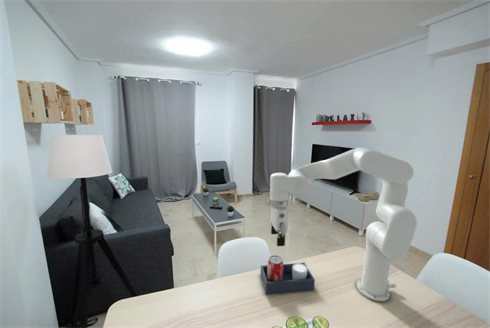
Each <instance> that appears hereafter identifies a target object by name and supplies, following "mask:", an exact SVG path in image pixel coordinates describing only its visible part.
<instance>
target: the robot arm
mask: <svg viewBox="0 0 490 328" xmlns="http://www.w3.org/2000/svg"><path fill="white" fill-rule="evenodd" d="M359 171H361V172H363V173H365V174H368V175H371V176H373V177H376V178H379V179H381V184H382V187H381V192H380V195H379V198H378V202H377V205H376V207H375V215H376V217H377V218H378V219H379V220H380V221H373V222H371V223H370V224H369V225H367V227H366V230H365V250H364V251H365V252H364V258H363V267H362V272H361V278H359V279H358V280H357V281H356V288H357V290H358V291H359V292H360V293H361V294H362V295H363V296H364V297H366V298H368V299H370V300H372V301H376V302H386V301H388V300H389V299H390V295H391V294H390V291H389V290H390V289H394V288H395V289H396V288H397V284H396V283H395V282H390V280H389V275H390V274H389V273H390V269H391V262H392V261H397V260H400V259H402V258H404V257H405V256H406V255H407V253H408V252H409V249H410V247H411V244H412V240H413V238H414V235H415V232H416V229H417V224H418V222H417V217H416V215H415V214H414V212H412V210H410V209H409V208H407V207H406V205H405V203H406V201H407V200H406V199H407V197H408V196H407V195H408V192H409V191H408V190H409V185H408V182H409V181H411V179H412V178H413V177H414V167H413V166H412V164H410V163H409V162H408V161H405V160H402V159H401V158H400V159H399V158H397V157H394V156H390V155H388V154H385V153H382V152H379V151H377V150H374V149H371V148H367V147H361V146H360V147H359V146H358V147H355V148H352V149H350V150H348V151H345V152H342V153H341V154H337V155H335V156H333V157H330V158H328V159H325V160H324V159H323V160H319V161H316V162H312V163H308V164H306V165H302V166H300V167H298V168H295V169H293V170H291V171H290V172H289V173H288V174H287V173H284V172H274V173H271V175H270V177H269V207H270V222H271V223H270V225H271V227H270V228H271V229H270V234H271V235H277V236H276V246H277V247H285V245H286V233H287V231H288V207H289V206H288V205H289V193H291V194H297V195H302V194H305V193H307V192H308V191H309V189H310V182H312V181H314V180H319V179H320V180H321V179H324V180H325V179H326V180H337V179H340V178H342V177H345V176H348V175H350V174H352V173H356V172H359Z"/></svg>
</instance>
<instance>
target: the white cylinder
mask: <svg viewBox="0 0 490 328" xmlns="http://www.w3.org/2000/svg"><path fill="white" fill-rule="evenodd" d="M300 263H301V262H296V264H294V265H293V266H292V271H293V280H299V279H306V276H307V271H308V269H309V268H308V266H307V265H306V264H305V265H306V266H307V267H306V266H305V265H303V264H300Z"/></svg>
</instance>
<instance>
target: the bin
mask: <svg viewBox="0 0 490 328" xmlns="http://www.w3.org/2000/svg"><path fill="white" fill-rule="evenodd" d="M296 263H297V262H296ZM296 263H295V262H294V263H283V280H282V281H273V282H267V266H268V264H266V265H265V264H264V265H260V280H261V283H262V287H263V290H264V294H265V295H266V296H267V295H278V294H279V295H280V294H289V293H301V292H302V293H303V292H312V291H313V292H314V291H315V278H314V276H313V275H312V272H311V271H310V270H309V268H308V266H307V264H306V263H305V262H299V263H300V264H303V265H305V266H306V267H307V268H308V271H307V276H306V279H299V280H293V271H292V266H293V265H294V264H296Z"/></svg>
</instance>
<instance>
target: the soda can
mask: <svg viewBox="0 0 490 328" xmlns="http://www.w3.org/2000/svg"><path fill="white" fill-rule="evenodd" d="M283 264H284V262H283V259H282V257H281V256H279V255H271V256H270V257H269V259H268V260H267V265H268V266H267V282H273V281H282V280H283Z"/></svg>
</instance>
